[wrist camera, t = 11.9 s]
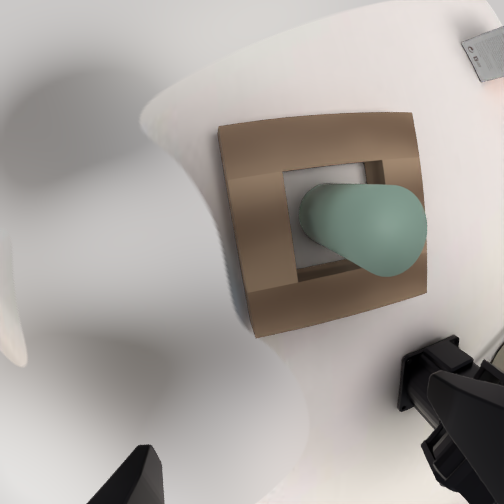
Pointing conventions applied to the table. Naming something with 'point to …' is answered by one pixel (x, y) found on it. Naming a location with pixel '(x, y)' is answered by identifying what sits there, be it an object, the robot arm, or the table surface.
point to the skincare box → (487, 54)
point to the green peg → (366, 224)
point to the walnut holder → (277, 217)
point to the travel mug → (499, 359)
